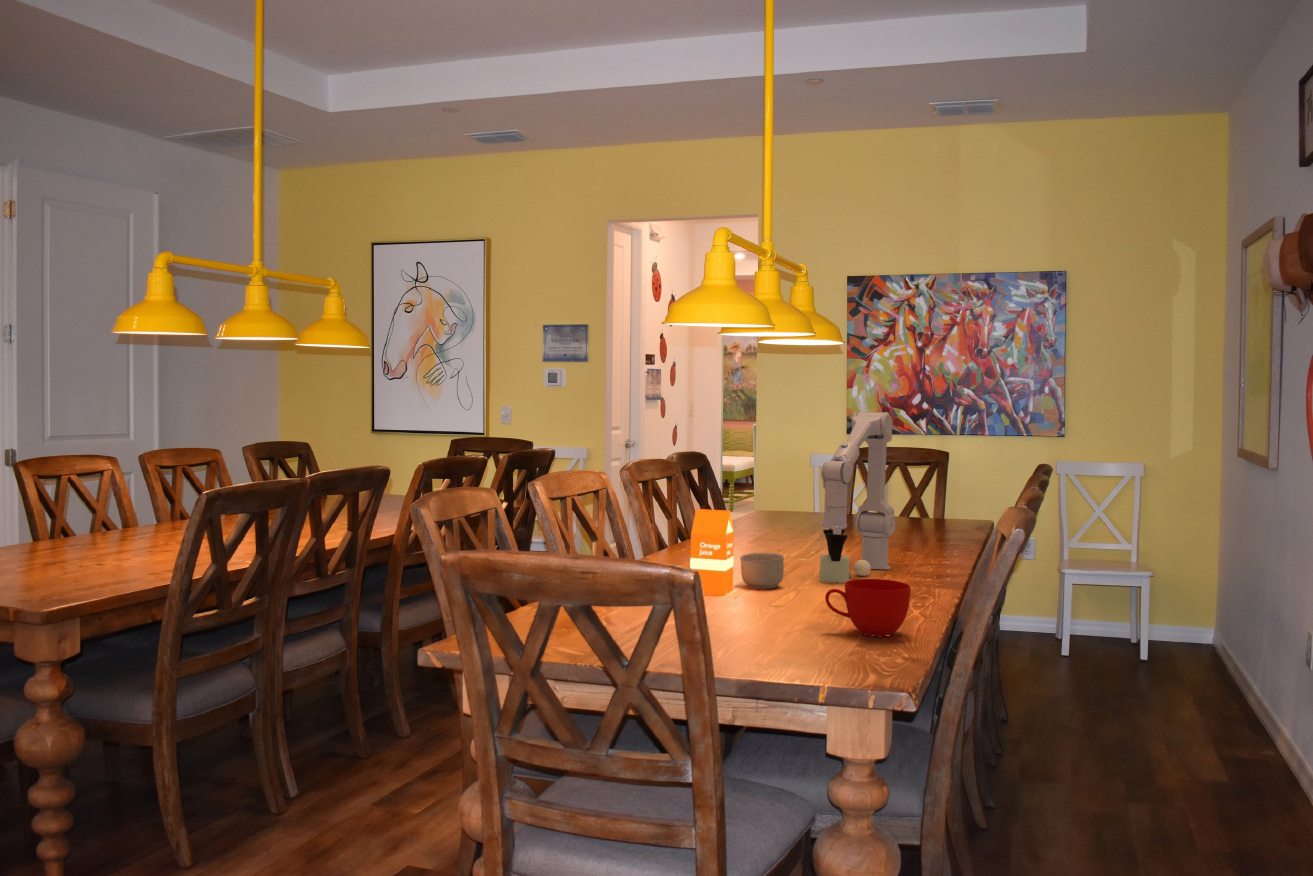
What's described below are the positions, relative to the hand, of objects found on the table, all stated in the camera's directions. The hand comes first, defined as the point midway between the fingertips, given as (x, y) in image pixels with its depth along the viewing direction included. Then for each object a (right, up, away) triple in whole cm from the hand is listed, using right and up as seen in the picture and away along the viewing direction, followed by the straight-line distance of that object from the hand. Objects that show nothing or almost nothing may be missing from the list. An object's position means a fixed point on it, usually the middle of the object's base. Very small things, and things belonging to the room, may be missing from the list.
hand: (834, 558), depth 268 cm
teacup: (-20, -6, -9) cm, 23 cm away
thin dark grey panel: (+2, -5, +8) cm, 10 cm away
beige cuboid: (0, -6, 0) cm, 6 cm away
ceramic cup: (-4, -8, -60) cm, 60 cm away
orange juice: (-33, -6, -18) cm, 38 cm away
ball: (+9, -3, +7) cm, 12 cm away
